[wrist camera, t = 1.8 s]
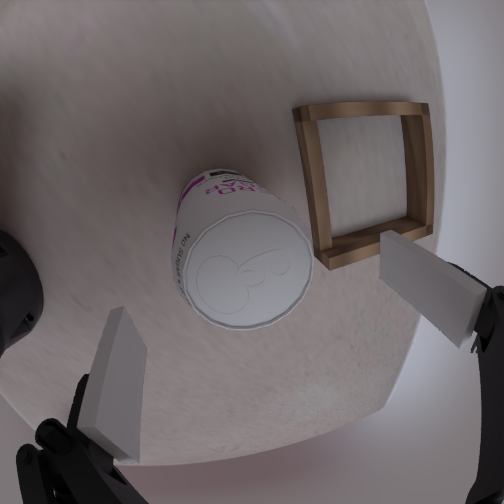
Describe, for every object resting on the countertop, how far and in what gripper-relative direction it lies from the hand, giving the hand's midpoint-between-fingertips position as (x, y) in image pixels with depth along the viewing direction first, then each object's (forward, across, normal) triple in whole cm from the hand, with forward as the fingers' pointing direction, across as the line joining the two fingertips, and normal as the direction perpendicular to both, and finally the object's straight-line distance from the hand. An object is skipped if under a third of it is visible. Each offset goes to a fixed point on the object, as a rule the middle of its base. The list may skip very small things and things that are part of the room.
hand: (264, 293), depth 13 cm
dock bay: (+17, +17, 0) cm, 24 cm away
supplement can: (+17, 0, 0) cm, 17 cm away
